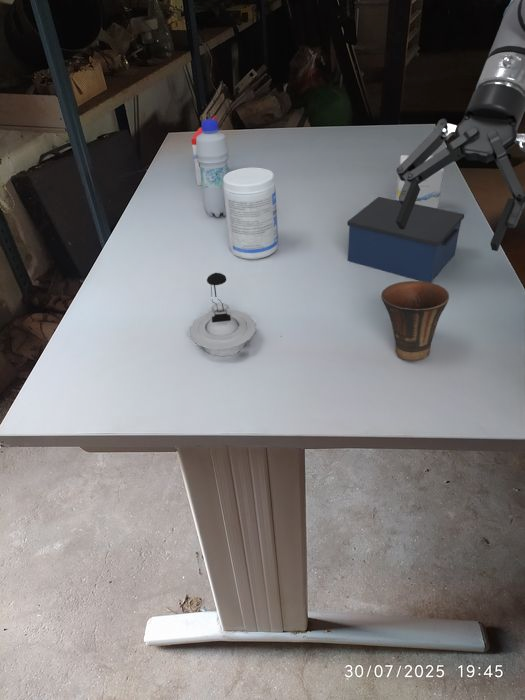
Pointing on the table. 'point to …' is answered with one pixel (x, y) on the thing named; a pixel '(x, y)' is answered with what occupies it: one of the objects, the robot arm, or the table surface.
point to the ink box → (424, 187)
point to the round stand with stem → (222, 326)
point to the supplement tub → (251, 212)
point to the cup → (414, 315)
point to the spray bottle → (197, 165)
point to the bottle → (212, 166)
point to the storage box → (403, 239)
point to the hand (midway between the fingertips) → (444, 236)
